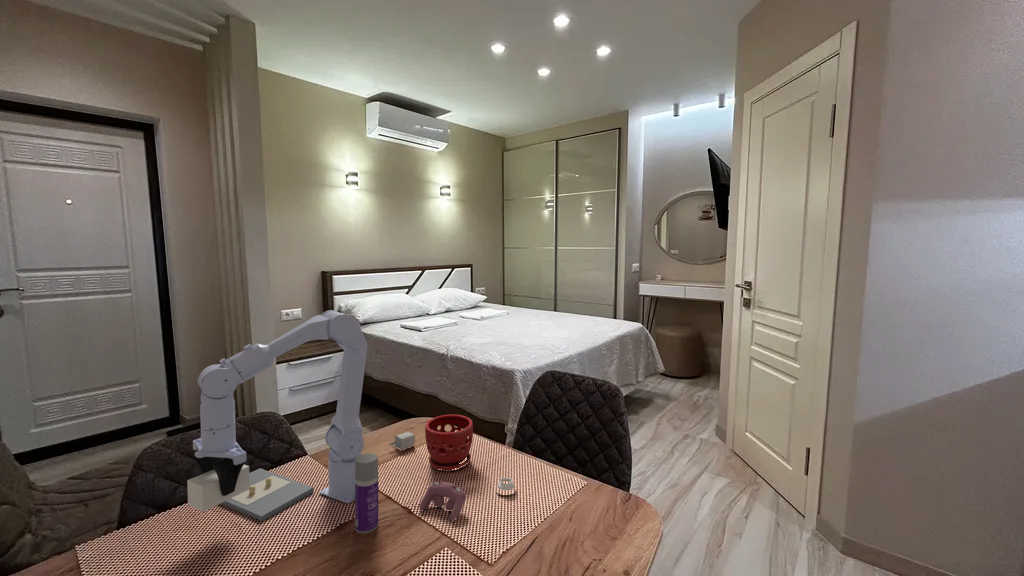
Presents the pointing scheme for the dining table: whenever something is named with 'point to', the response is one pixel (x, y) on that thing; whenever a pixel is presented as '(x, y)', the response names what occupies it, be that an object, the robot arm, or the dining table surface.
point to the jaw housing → (213, 489)
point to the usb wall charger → (404, 440)
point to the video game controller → (446, 490)
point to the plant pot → (449, 441)
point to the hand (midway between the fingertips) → (219, 489)
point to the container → (366, 493)
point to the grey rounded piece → (506, 486)
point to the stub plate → (268, 495)
